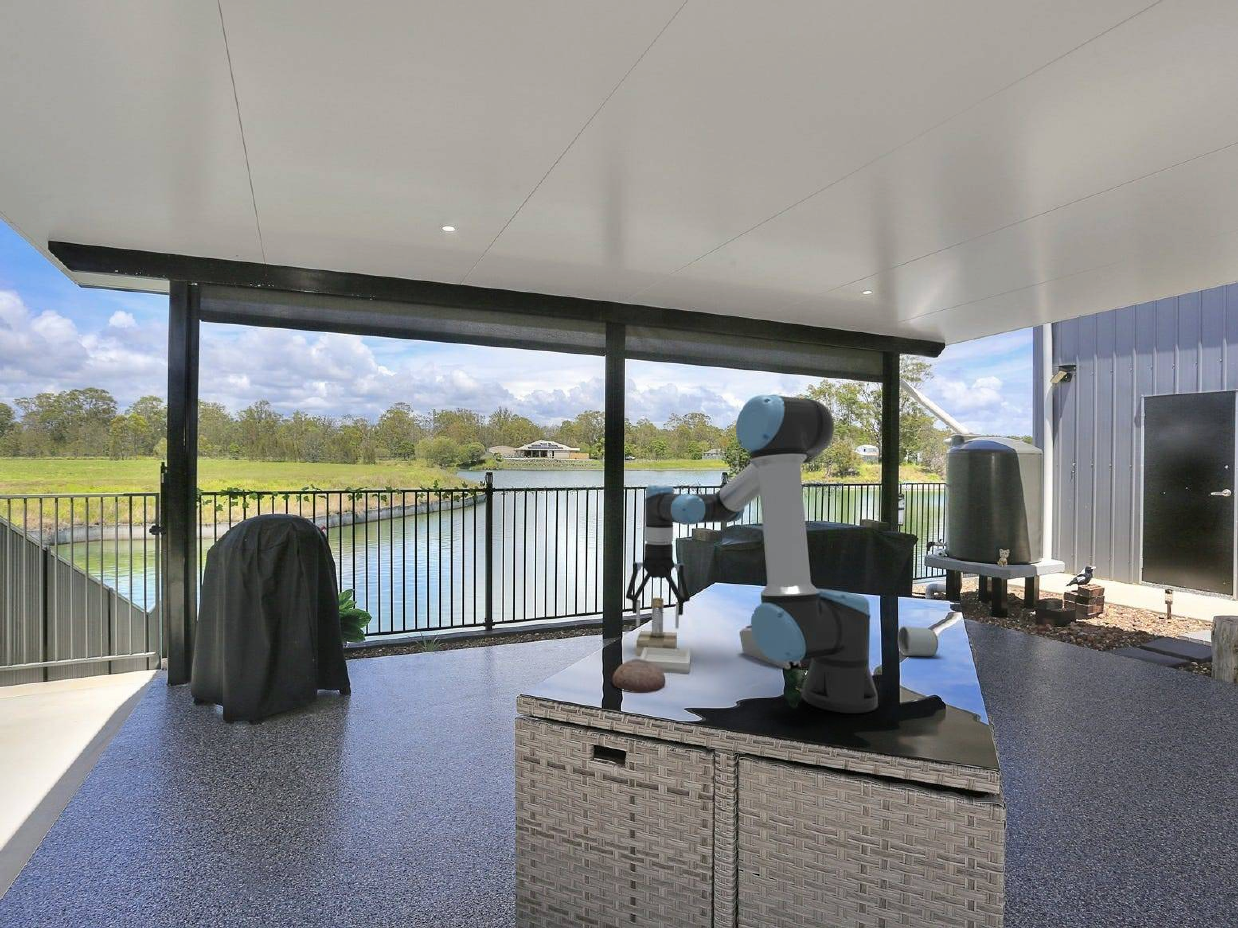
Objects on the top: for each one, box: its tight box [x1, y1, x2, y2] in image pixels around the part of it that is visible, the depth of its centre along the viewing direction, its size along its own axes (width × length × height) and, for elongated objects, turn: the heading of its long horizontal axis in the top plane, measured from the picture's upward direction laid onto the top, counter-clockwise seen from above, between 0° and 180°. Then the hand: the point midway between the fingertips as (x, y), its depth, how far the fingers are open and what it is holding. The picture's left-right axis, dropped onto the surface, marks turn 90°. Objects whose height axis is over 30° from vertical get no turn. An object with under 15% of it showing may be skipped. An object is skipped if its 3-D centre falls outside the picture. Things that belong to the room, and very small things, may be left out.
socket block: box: [636, 630, 678, 657], centre depth 175 cm, size 10×10×4 cm
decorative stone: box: [611, 658, 666, 693], centre depth 148 cm, size 12×12×6 cm
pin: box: [651, 597, 664, 638], centre depth 175 cm, size 3×3×14 cm
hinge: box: [739, 624, 802, 670], centre depth 168 cm, size 17×5×10 cm, turn 30°
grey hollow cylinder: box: [897, 625, 939, 657], centre depth 177 cm, size 11×8×8 cm
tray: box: [639, 647, 691, 675], centre depth 163 cm, size 12×12×2 cm
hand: (657, 626), depth 175 cm, fingers open, 10 cm apart
